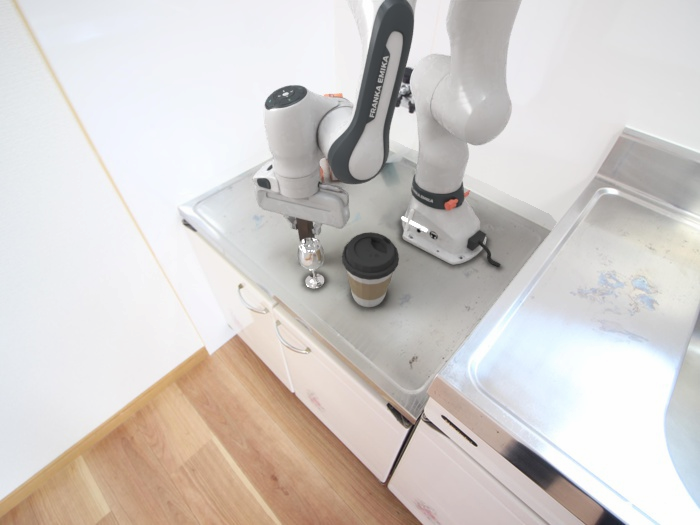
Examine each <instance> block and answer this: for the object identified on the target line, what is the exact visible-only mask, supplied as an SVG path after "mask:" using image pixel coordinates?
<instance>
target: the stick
mask: <svg viewBox="0 0 700 525" xmlns="http://www.w3.org/2000/svg"><path fill="white" fill-rule="evenodd" d="M295 218H296V217H295ZM296 222H297V228H298V229H297V234H298V239H299V242H300V241H302V240H303V239H305V238H308V237H313V238H316V235H315V234H312V228H313V227H314V222H312V221H308V220H304V219H300V218H296Z"/></svg>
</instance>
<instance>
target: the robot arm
mask: <svg viewBox="0 0 700 525" xmlns="http://www.w3.org/2000/svg"><path fill="white" fill-rule="evenodd" d="M417 2H418V0H346V3H347V5H348V7H349V9H350V11H351V13H352V16H353V18H354V20H355V24H356V26H357V30H358V34H359V37H360V42H361V54H362V55H361V57H362V58H361V66H360V71H359V77H358V81H357V85H356V86H357V88H356V92H355V96H354V101H353V103H352V102H351V101H350V100H349V99H347V98H346V97H344V96H343V97H326V96H323V95H321V94H318V93H315V92H314V91H311V90H309V89H308V88H307V87H305V86H303V85H299V84H293V85H290V84H289V85H284V86H281V87H280V88H277V89H276V90H273V92H272V93H271V94H269V95H268V97H267V98H266V99H265V102H264V106H263V125H264V132H265V137H266V142H267V148H268V150H269V152H270V153H271V156H272V160H268V161H267V162H266V163H265V164H263V165H262V166H261V167H260V168H259V169H258V170H257V172H256V173H255V174H254V175H253V177H252V183H253V185H254V197H255V200H256V204H257V206H258V207H259V208H260V209H261V210H263V211H268V212H271V213H275V214H280V215H283V218H284V219H285V221H286V222H287V223H288V224H289V227H290V230H291V229H292V230H296V231H298V228H297V222H296V218H300V219H304V220H308V221H312V222H313V223H314V224H313V228H312V234H314V235H315V236H320V235H321V233H322V226H323V225H325V226H329V227H333V228H337V229H343V228H344V227H346V225H347V224H348V222H349V220H350V217H351V213H350V206H349V202H350V196H349V192H347V191H346V190H344V188H343V187H342V186H340V185H333V184H331V183H326V182H324V183H322V182H321V172H320V166H321V160H322V159H326V161H327V163H328V165H330V166H329V169H330V168H331V170H332V172H333V174H334V176H335V177H336V178H337V179H338V180H337V181H339V182H341V183H344V184H347V185H361V184H366V183H367V182H370V181H372V180H374V178H376V177H377V176H378V175H379V174H380V173H381V172H382V171H383V169H384V168H385V166H386V164H387V162H388V158H389V154H390V133H391V132H390V131H391V126H392V122H393V117H394V113H395V110H396V106H397V102H398V98H399V95H400V92H401V89H402V88H401V87H402V84H403V80H404V76H405V72H406V68H407V64H408V60H409V56H410V52H411V48H412V43H413V37H414V29H415V14H416V7H417ZM522 2H523V0H450V2H449V5H448V10H447V14H446V17H445V18H446V19H445V29H446V33H447V36H448V40H449V44H450V45H449V48H450V55H448V54H442V53H430V54H427V55H426V56H424V57H422V58H421V59H420V60H419V61H418V62H417V63H416V65H415V66H414V68H413V70H412V72H411V75H410V78H409V89H410V92H411V96H412V99H413V102H414V107H415V108H414V109H415V116H416V126H417V127H416V128H417V139H418V151H417V160H416V168H415V173H414V175H413V177H412V182H411V188H410V189H411V191H410V192H411V195H410V199H409V203H408V205H407V209H406V211H405V213H404V214H403V216H401V225H402V230H403V232H402V236H401V237H402V239H403V240H404V241H406V242H407V243H409V244H411V245H413V246H415V247H417V248H419V249H421V250H423V251H425V252H426V253H428V254H430V255H432V256H434V257H435V258H437V259H439V260H442V261H443V262H445V263H448V264H450V265H460V264H464V263H467V262H469V261H470V260H472V259H473V258H475V257H477V256H478V255H479V254H480V253H481V252H482V251H483V250H484V251H485V253H486V259H487V261H488V262H489V263H490V264H492V265H493V266H496V267H497V268H499V267H500V266H501V263H499V262H497V261H495V260H493V259H492V252H491V250H490V249H489V247H487V245H486V244H487V233H485V232H484V231H482V230H481V221H480V218H479V217H478V216H477V214H476V213H475V209H474V208H473V207H472V206H471V205H470V204H469V203H468V201H467V200H466V199H465V198H467V197H468V196H469V195H470V192H471V190H469V189H468V190H467V191H465V186H464V177H465V172H466V169H467V165H468V162H469V158H470V149H469V148H470V147H469V145H471V146H483V145H486V144H488V143H491V142H492V141H494V140H495V139H496V138H497V137H499V136H500V135H501V134H502V133H503V131H504V130H505V129H506V127H507V126H508V123H509V121H510V120H511V116H512V113H513V112H512V111H513V104H512V100H511V97H510V94H509V90H508V83H507V64H508V54H509V53H508V52H509V45H510V40H511V35H512V31H513V29H514V25H515V22H516V19H517V16H518V12H519V10H520V6H521V4H522ZM468 144H469V145H468Z"/></svg>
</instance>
